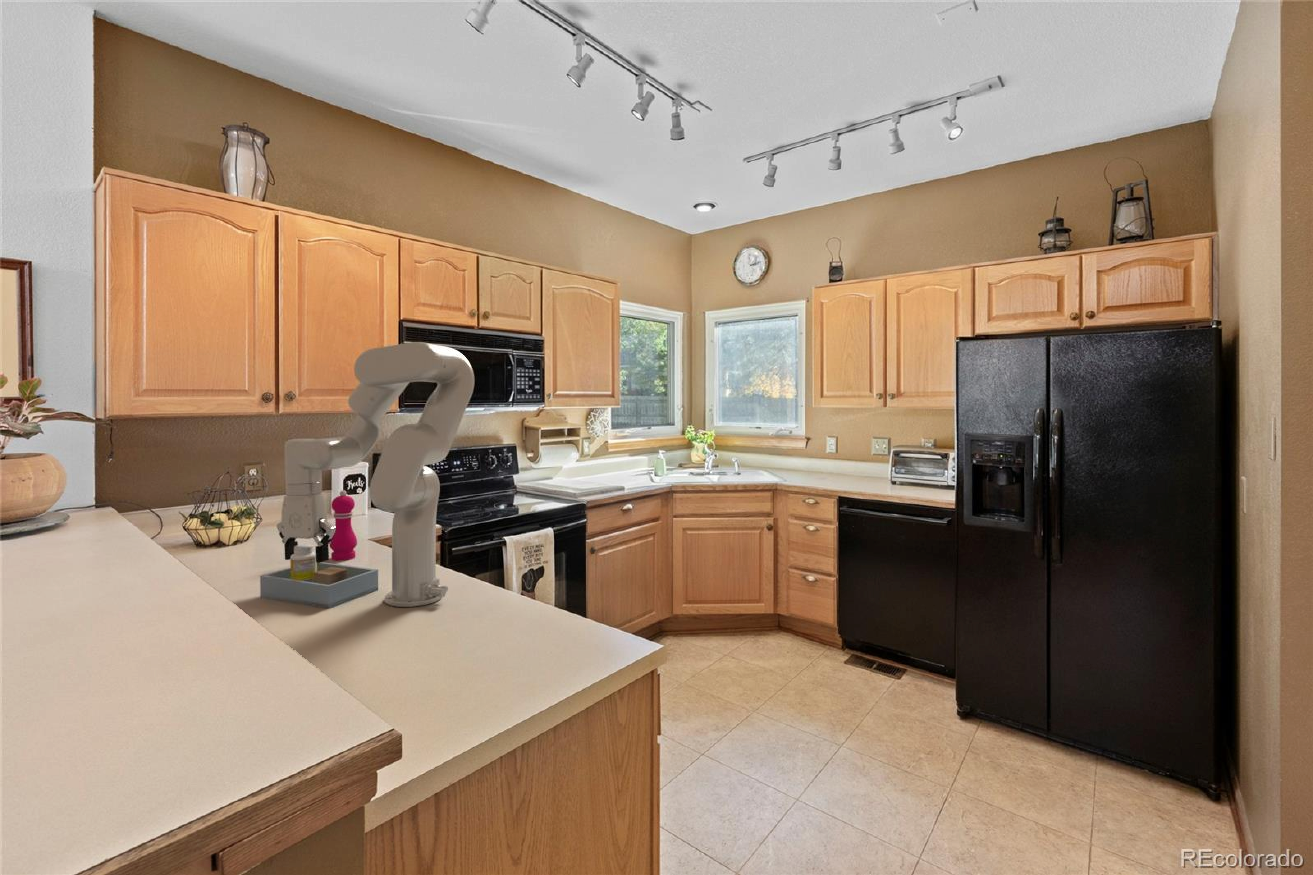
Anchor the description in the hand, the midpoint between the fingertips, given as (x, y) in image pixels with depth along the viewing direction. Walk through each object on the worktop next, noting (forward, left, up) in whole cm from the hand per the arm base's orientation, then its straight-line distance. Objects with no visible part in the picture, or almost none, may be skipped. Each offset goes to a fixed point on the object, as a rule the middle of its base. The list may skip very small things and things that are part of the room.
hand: (306, 560), depth 145 cm
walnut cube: (-8, +1, -7) cm, 10 cm away
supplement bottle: (0, +1, -7) cm, 7 cm away
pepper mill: (+16, -26, -8) cm, 32 cm away
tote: (-5, +1, -8) cm, 9 cm away
